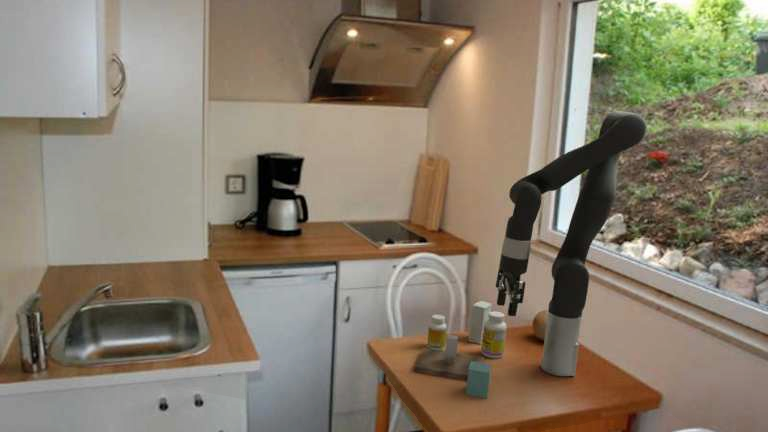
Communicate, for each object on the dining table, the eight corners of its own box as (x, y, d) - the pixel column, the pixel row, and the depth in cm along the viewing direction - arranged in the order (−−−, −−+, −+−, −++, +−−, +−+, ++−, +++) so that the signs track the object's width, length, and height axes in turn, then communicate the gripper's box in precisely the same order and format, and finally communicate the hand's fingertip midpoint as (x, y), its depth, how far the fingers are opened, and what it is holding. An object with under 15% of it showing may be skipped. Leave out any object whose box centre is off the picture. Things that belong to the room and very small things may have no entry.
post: (455, 360, 184) (458, 336, 182) (454, 364, 181) (456, 339, 180) (445, 359, 184) (448, 334, 183) (444, 363, 182) (446, 338, 180)
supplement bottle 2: (477, 350, 196) (481, 310, 194) (497, 349, 198) (501, 309, 196) (486, 359, 190) (491, 318, 187) (507, 358, 192) (511, 317, 189)
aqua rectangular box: (488, 389, 171) (491, 364, 169) (487, 398, 165) (489, 372, 164) (468, 386, 172) (470, 361, 170) (466, 394, 166) (468, 369, 165)
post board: (483, 362, 188) (484, 357, 187) (479, 382, 174) (479, 377, 174) (422, 352, 191) (423, 348, 191) (414, 371, 178) (414, 366, 178)
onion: (545, 347, 202) (549, 317, 200) (524, 336, 211) (527, 307, 209) (568, 343, 207) (572, 314, 205) (546, 332, 215) (550, 304, 213)
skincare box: (480, 344, 201) (484, 308, 199) (468, 341, 203) (471, 304, 201) (488, 339, 206) (492, 303, 204) (476, 335, 208) (479, 300, 206)
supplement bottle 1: (443, 351, 194) (446, 320, 192) (425, 349, 194) (428, 318, 193) (445, 345, 199) (448, 315, 197) (428, 342, 200) (430, 312, 198)
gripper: (538, 262, 170) (528, 320, 173) (518, 248, 184) (509, 302, 187) (512, 260, 169) (502, 318, 172) (493, 246, 182) (484, 300, 186)
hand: (505, 310), depth 179 cm, fingers open, 8 cm apart
